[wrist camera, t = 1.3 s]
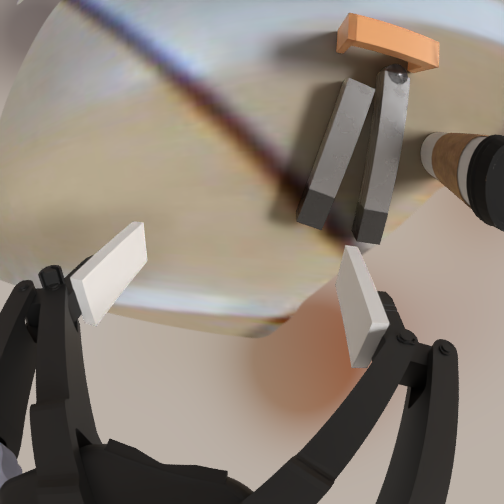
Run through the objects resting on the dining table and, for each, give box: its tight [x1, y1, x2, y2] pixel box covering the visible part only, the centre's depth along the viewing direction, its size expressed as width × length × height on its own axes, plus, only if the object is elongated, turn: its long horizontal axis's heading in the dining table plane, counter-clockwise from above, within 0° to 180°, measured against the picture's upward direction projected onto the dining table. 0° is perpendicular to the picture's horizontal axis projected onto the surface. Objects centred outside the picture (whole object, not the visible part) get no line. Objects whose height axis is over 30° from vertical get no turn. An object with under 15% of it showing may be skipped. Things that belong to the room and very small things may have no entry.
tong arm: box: [296, 78, 375, 230], centre depth 28 cm, size 17×3×3 cm, turn 164°
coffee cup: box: [421, 132, 504, 231], centre depth 21 cm, size 8×8×15 cm
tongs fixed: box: [352, 64, 410, 245], centre depth 28 cm, size 21×3×3 cm, turn 176°
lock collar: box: [336, 13, 439, 73], centre depth 20 cm, size 3×10×6 cm, turn 85°
